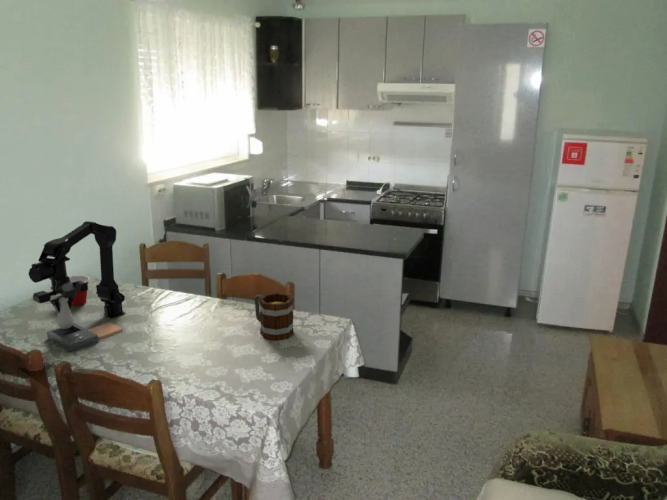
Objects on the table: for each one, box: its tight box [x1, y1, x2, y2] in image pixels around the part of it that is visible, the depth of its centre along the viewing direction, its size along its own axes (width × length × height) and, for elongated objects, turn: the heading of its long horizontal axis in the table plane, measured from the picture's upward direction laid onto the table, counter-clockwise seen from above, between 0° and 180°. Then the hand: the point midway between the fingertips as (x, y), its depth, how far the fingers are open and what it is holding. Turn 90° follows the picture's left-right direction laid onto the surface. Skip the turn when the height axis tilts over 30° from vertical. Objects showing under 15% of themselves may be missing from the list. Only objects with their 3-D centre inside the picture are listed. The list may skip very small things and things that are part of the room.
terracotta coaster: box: [87, 322, 124, 340], centre depth 219 cm, size 10×10×1 cm
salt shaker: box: [56, 294, 74, 329], centre depth 211 cm, size 6×6×13 cm
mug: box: [254, 292, 295, 342], centre depth 219 cm, size 20×14×15 cm
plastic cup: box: [68, 275, 90, 307], centre depth 246 cm, size 11×11×12 cm
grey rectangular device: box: [46, 322, 99, 353], centre depth 211 cm, size 11×18×3 cm, turn 52°
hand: (64, 312), depth 211 cm, fingers closed on salt shaker, 3 cm apart
